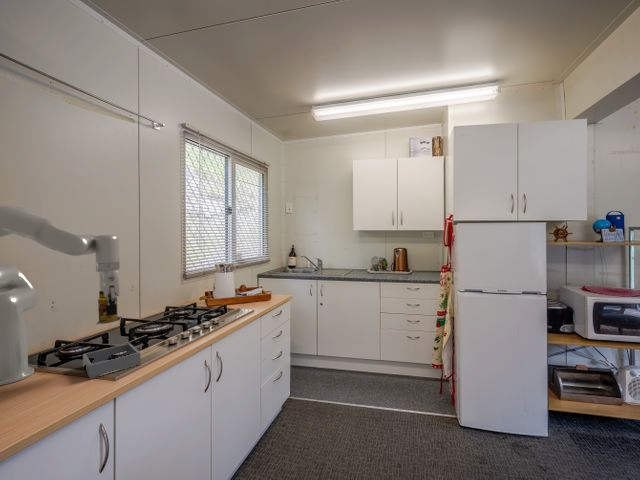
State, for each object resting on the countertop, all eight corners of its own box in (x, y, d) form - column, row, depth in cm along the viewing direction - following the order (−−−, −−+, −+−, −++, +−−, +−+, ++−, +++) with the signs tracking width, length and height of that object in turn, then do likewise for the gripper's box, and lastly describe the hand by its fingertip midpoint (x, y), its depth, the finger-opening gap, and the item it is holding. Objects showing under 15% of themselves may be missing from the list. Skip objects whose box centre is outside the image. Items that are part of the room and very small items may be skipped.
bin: (90, 379, 109) (89, 365, 109) (83, 366, 120) (82, 354, 120) (140, 365, 121) (140, 352, 120) (130, 354, 131) (129, 342, 131)
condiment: (95, 324, 115) (94, 292, 114) (100, 319, 123) (100, 288, 122) (118, 322, 118) (117, 291, 117) (122, 316, 125) (121, 287, 125)
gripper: (125, 267, 115) (126, 315, 116) (114, 264, 128) (115, 307, 128) (100, 269, 110) (102, 319, 111) (91, 266, 122) (93, 311, 123)
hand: (109, 312), depth 120 cm, fingers closed on condiment, 6 cm apart
